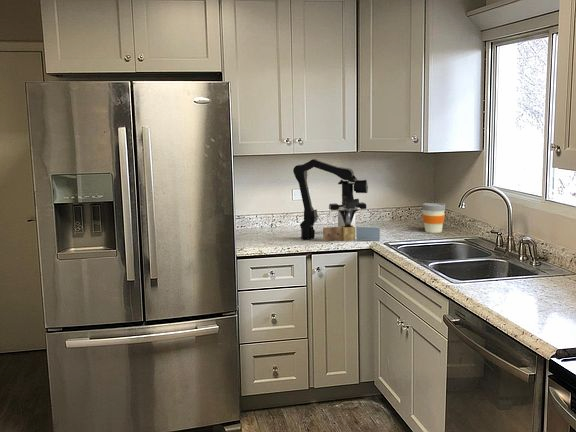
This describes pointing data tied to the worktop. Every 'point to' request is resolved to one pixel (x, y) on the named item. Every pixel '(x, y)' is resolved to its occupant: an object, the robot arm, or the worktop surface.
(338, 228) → the knuckle leaf
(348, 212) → the hinge pin
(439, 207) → the reusable coffee cup
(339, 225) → the skincare box
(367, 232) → the swing leaf
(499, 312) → the worktop surface
